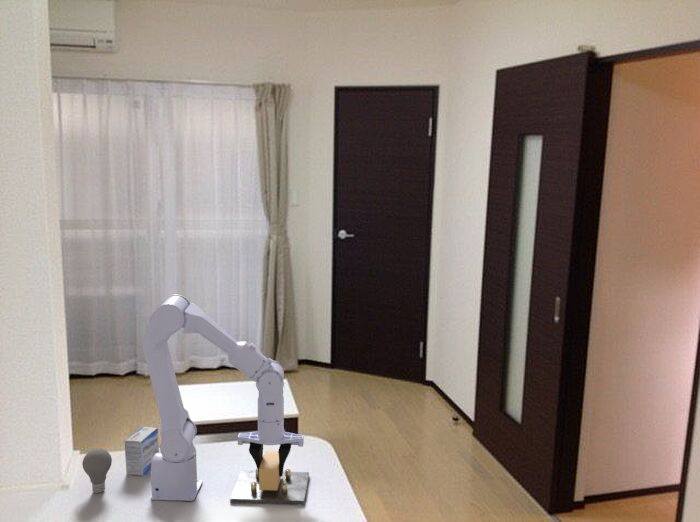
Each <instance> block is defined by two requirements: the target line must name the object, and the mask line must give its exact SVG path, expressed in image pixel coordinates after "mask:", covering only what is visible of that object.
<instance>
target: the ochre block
mask: <svg viewBox="0 0 700 522" xmlns="http://www.w3.org/2000/svg"><path fill="white" fill-rule="evenodd" d="M280 479H281V476H279V453H278V451H270V450H268V451H267V450H266V451H263V458H262V461H261V464H260V467H259V490H278V486H279V482H280Z"/></svg>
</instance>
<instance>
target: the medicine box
mask: <svg viewBox="0 0 700 522" xmlns="http://www.w3.org/2000/svg"><path fill="white" fill-rule="evenodd" d="M159 443H160V442H159V429H158V428H157V427H151V426H141V427H139V429H138V430H136V431H135V432H134V433H133V434H131V436H129V437H127V438H126V439H125V440H124V455H125V457H124V458H125V470H126V475H129V476H130V475H131V476H140V477H144V476H145V475H146V474H147V473H149V471H151V464H152V460H153V457H154V455H155V454H156V453H159V452H160V446H159V445H160V444H159Z"/></svg>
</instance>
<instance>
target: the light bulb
mask: <svg viewBox="0 0 700 522" xmlns="http://www.w3.org/2000/svg"><path fill="white" fill-rule="evenodd" d="M112 462H113V459H112V455H111V454H110V452H109V451H108V450H107V449H105V448H102V447H98V448H93V449H91V450H89V451H88V452H87V453H86V454H85V455H84V456H83V459H82V465H81V466H82V469H83V471H84V473H85V474H86V475H87V476H88V477H89V481H90V483H91V487H92V492H93V493H95V494H99V493H101V492H104V491H105V489H106V480H107V474H108V473H109V470H111V469H110V468H111V466H112Z"/></svg>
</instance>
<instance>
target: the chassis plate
mask: <svg viewBox="0 0 700 522" xmlns="http://www.w3.org/2000/svg"><path fill="white" fill-rule="evenodd" d="M309 478H310V472H306V471H304V472H303V471H291V469H290V468H286V469H285V471H283V474H282V476H281V479H280V482H279V486H278V490H259V474H258V469H257V468H256V469H255V470H240V473H239V475H238V478H237V480H236V483H235V486H234V488H233V489H232V490H233V491H232V493H231V496H230V498H229V502H230V504H255V505H257V504H258V505H289V506H291V505H292V506H304V505H305V501H306V495H307V490H308V486H309V485H308V483H309Z"/></svg>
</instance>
